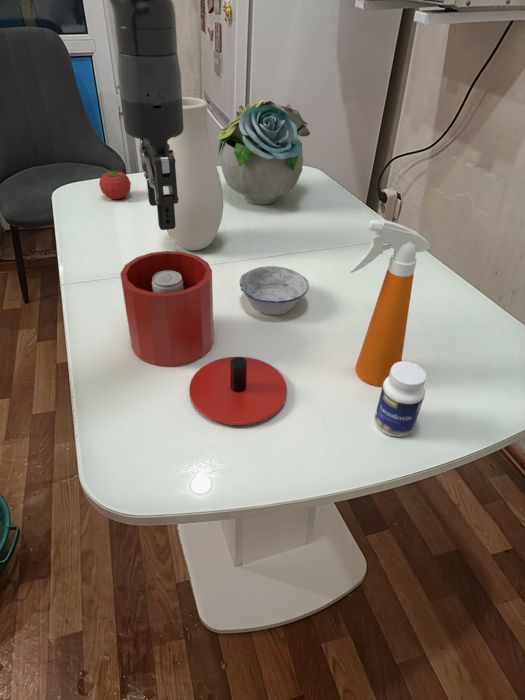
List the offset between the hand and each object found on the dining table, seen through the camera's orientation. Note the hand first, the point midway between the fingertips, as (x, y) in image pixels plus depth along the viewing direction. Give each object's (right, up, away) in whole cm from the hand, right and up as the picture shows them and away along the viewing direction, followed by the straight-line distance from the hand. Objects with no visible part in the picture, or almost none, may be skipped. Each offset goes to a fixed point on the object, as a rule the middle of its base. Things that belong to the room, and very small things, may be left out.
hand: (161, 216), depth 74 cm
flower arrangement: (+14, +21, +65) cm, 69 cm away
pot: (-1, -18, +14) cm, 23 cm away
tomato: (-24, +21, +62) cm, 70 cm away
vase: (-1, +4, +42) cm, 42 cm away
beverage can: (-1, -18, +14) cm, 22 cm away
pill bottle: (+34, -30, +1) cm, 45 cm away
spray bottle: (+31, -23, +9) cm, 40 cm away
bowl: (+16, -11, +24) cm, 31 cm away
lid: (+11, -25, +4) cm, 28 cm away
